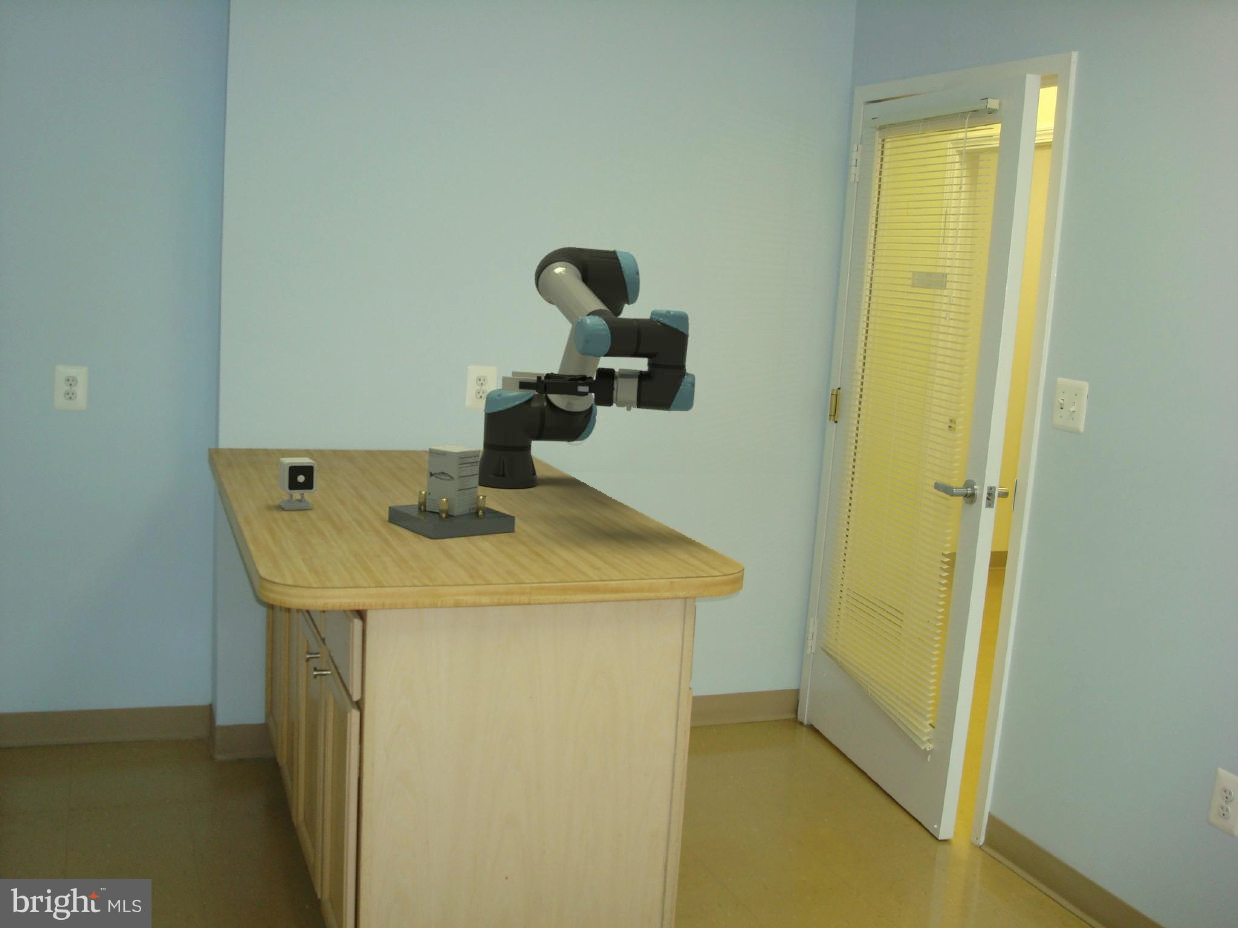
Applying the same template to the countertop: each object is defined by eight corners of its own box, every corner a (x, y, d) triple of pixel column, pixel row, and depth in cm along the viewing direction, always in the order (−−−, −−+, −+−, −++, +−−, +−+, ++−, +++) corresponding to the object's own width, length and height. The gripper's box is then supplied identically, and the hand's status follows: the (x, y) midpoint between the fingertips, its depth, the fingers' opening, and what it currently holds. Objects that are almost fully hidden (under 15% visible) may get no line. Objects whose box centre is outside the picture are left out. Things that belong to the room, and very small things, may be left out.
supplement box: (424, 511, 225) (427, 446, 223) (449, 506, 231) (451, 444, 230) (454, 516, 221) (456, 451, 220) (478, 511, 228) (481, 448, 226)
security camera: (284, 511, 232) (285, 462, 231) (277, 505, 238) (278, 457, 237) (316, 510, 235) (317, 461, 233) (308, 504, 241) (309, 456, 240)
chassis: (467, 514, 240) (468, 483, 239) (514, 531, 226) (516, 498, 225) (388, 521, 228) (389, 488, 228) (432, 539, 215) (433, 504, 214)
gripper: (611, 413, 214) (496, 406, 214) (616, 400, 238) (514, 393, 239) (613, 373, 212) (498, 365, 213) (619, 364, 237) (516, 357, 238)
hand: (506, 380), depth 226 cm, fingers open, 13 cm apart
